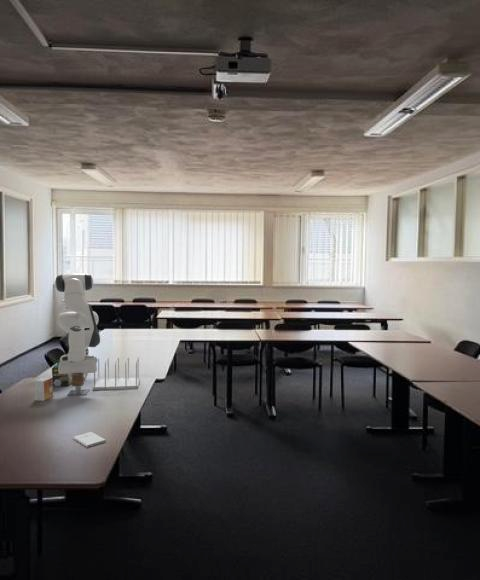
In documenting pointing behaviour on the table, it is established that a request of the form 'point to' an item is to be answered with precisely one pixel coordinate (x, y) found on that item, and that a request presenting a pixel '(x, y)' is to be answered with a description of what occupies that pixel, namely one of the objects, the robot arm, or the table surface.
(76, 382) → the cardboard cube
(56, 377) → the chalk box
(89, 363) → the robot arm
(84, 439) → the external hard drive
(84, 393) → the grey square peg stand
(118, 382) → the file sorter
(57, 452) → the table surface
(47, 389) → the small box
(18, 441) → the table surface
